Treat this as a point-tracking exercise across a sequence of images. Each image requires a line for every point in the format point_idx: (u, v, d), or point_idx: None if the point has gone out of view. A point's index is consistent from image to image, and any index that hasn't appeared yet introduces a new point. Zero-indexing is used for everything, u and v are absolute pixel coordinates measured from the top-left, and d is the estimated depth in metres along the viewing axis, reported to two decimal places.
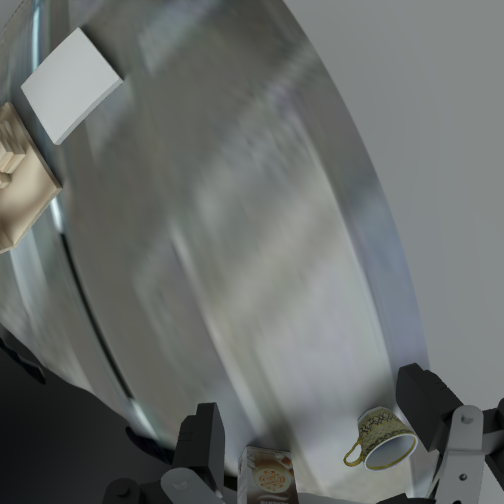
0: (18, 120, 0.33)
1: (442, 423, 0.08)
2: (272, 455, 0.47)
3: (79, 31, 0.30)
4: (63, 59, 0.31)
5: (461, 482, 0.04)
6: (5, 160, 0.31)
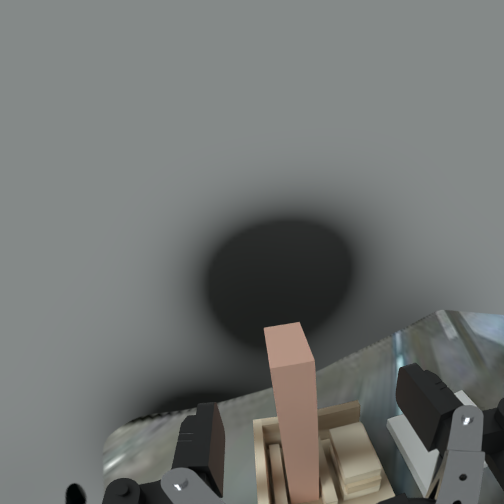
0: None
1: (442, 423, 0.08)
2: None
3: (463, 394, 0.32)
4: None
5: (461, 482, 0.04)
6: (365, 478, 0.23)
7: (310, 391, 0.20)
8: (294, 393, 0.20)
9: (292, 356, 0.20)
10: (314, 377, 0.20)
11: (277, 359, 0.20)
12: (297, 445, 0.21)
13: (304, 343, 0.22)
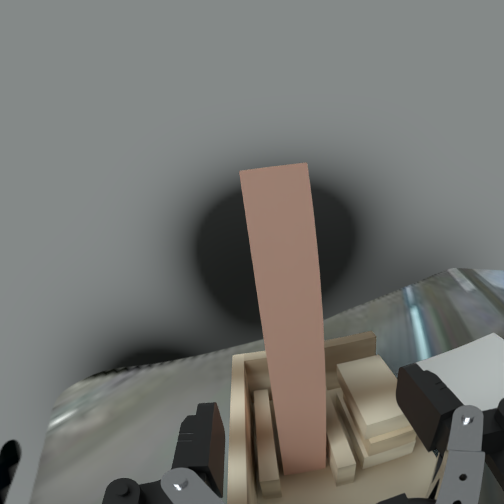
0: None
1: (442, 423, 0.08)
2: None
3: (497, 336, 0.26)
4: (483, 356, 0.24)
5: (461, 482, 0.04)
6: (394, 428, 0.16)
7: (305, 224, 0.14)
8: (279, 224, 0.14)
9: None
10: (309, 195, 0.13)
11: None
12: (290, 346, 0.15)
13: None
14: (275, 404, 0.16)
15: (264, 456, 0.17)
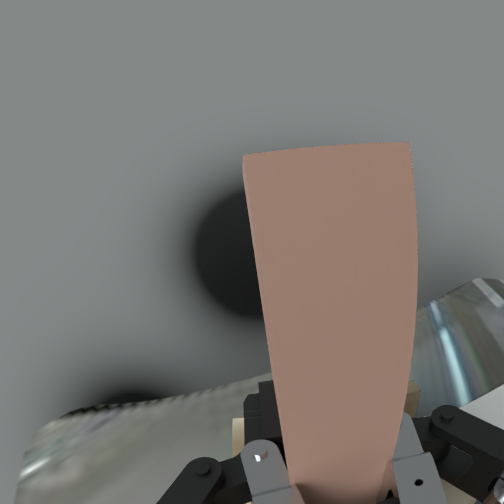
0: None
1: None
2: None
3: None
4: None
5: (419, 487, 0.05)
6: None
7: (399, 288, 0.05)
8: (343, 293, 0.05)
9: None
10: (413, 221, 0.05)
11: None
12: (335, 483, 0.07)
13: None
14: None
15: None
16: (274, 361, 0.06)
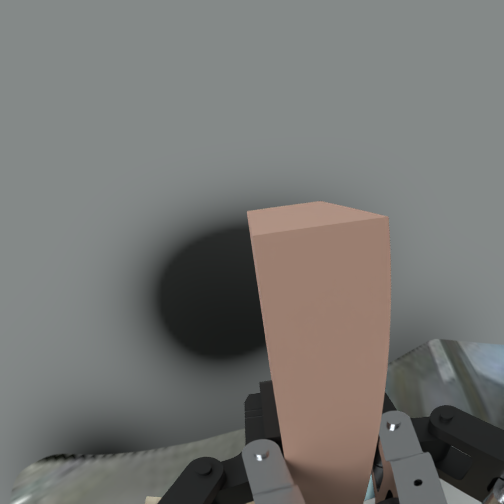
0: None
1: None
2: None
3: None
4: None
5: (418, 487, 0.05)
6: None
7: (375, 331, 0.07)
8: (328, 337, 0.07)
9: (321, 219, 0.07)
10: (387, 280, 0.07)
11: (276, 225, 0.07)
12: (325, 481, 0.08)
13: (343, 208, 0.09)
14: None
15: None
16: (275, 386, 0.07)
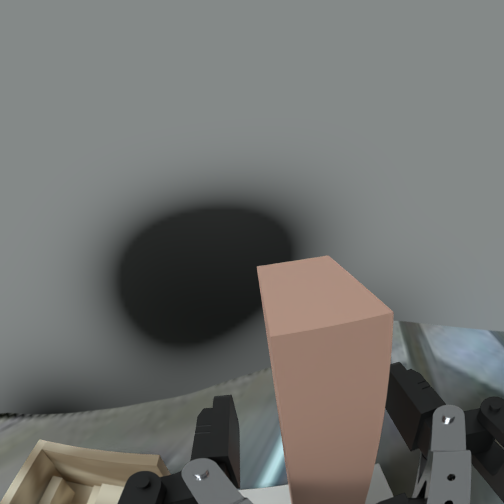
0: None
1: (423, 422, 0.08)
2: None
3: (378, 472, 0.19)
4: None
5: (450, 482, 0.05)
6: None
7: (373, 400, 0.07)
8: (333, 408, 0.07)
9: (331, 308, 0.08)
10: (387, 362, 0.07)
11: (290, 315, 0.08)
12: None
13: (351, 282, 0.09)
14: None
15: None
16: (286, 443, 0.07)
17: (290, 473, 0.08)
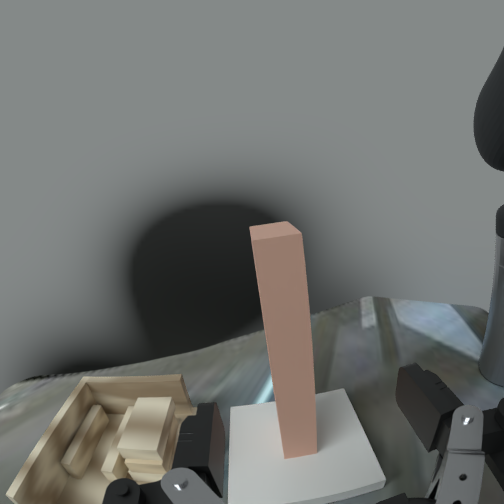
0: None
1: (442, 423, 0.08)
2: None
3: (343, 394, 0.30)
4: None
5: (461, 482, 0.04)
6: (143, 458, 0.20)
7: (299, 276, 0.19)
8: (280, 278, 0.19)
9: (278, 233, 0.19)
10: (303, 256, 0.19)
11: (261, 236, 0.19)
12: (288, 361, 0.20)
13: (291, 227, 0.21)
14: (277, 402, 0.21)
15: (71, 449, 0.21)
16: (261, 298, 0.19)
17: (265, 322, 0.20)
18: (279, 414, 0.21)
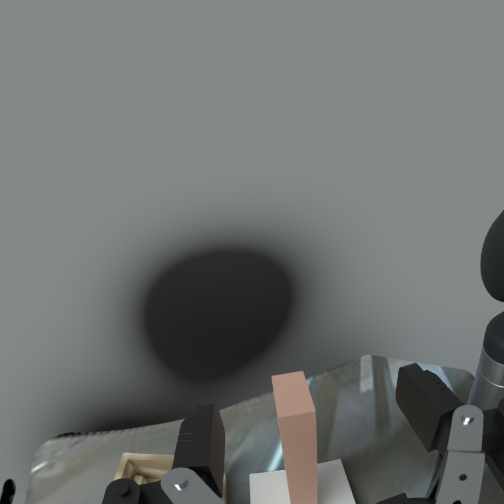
0: (224, 501, 0.30)
1: (442, 423, 0.08)
2: None
3: (339, 464, 0.33)
4: None
5: (461, 482, 0.04)
6: None
7: (311, 433, 0.22)
8: (297, 435, 0.22)
9: (297, 407, 0.22)
10: (315, 423, 0.22)
11: (284, 409, 0.22)
12: (299, 472, 0.23)
13: (307, 393, 0.24)
14: (290, 492, 0.24)
15: None
16: (282, 446, 0.22)
17: (284, 456, 0.23)
18: (290, 497, 0.24)
